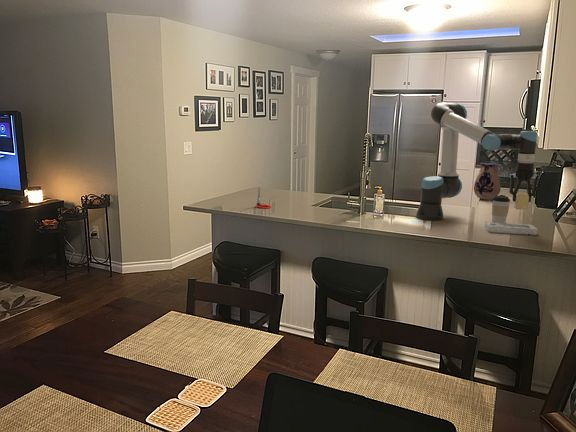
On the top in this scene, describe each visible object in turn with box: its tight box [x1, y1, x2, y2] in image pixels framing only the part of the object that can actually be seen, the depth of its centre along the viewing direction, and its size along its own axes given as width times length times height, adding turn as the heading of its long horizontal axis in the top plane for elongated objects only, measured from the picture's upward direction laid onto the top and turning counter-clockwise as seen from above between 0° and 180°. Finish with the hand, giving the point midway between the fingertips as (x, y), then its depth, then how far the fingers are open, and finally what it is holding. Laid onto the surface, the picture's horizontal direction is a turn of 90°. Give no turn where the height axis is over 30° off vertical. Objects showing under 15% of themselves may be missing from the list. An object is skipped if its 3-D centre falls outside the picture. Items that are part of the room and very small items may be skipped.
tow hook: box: [254, 186, 272, 210], centre depth 297 cm, size 8×13×9 cm
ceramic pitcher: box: [473, 162, 501, 201], centre depth 340 cm, size 18×21×25 cm
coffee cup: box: [491, 194, 511, 223], centre depth 267 cm, size 9×9×15 cm
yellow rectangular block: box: [515, 191, 529, 211], centre depth 244 cm, size 4×4×8 cm
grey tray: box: [484, 221, 538, 236], centre depth 249 cm, size 23×10×3 cm, turn 78°
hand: (520, 208), depth 245 cm, fingers closed on yellow rectangular block, 4 cm apart
